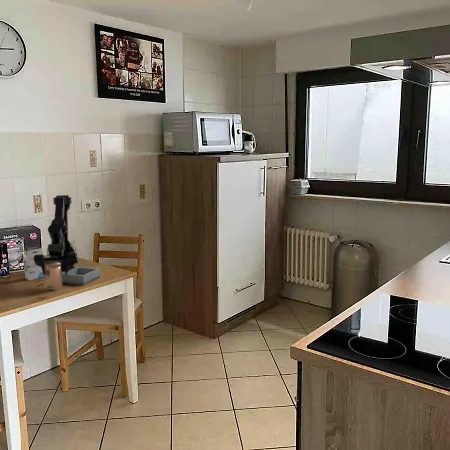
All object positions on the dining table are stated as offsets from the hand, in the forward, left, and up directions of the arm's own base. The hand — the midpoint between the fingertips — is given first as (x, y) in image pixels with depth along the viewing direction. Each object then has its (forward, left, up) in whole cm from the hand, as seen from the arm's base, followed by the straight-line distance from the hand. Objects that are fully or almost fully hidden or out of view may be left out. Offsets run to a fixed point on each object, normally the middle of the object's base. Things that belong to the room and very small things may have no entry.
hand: (54, 275), depth 204 cm
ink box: (-23, +12, -7) cm, 27 cm away
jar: (-1, +1, -7) cm, 7 cm away
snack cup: (-32, +43, -7) cm, 54 cm away
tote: (+2, +15, -7) cm, 17 cm away
